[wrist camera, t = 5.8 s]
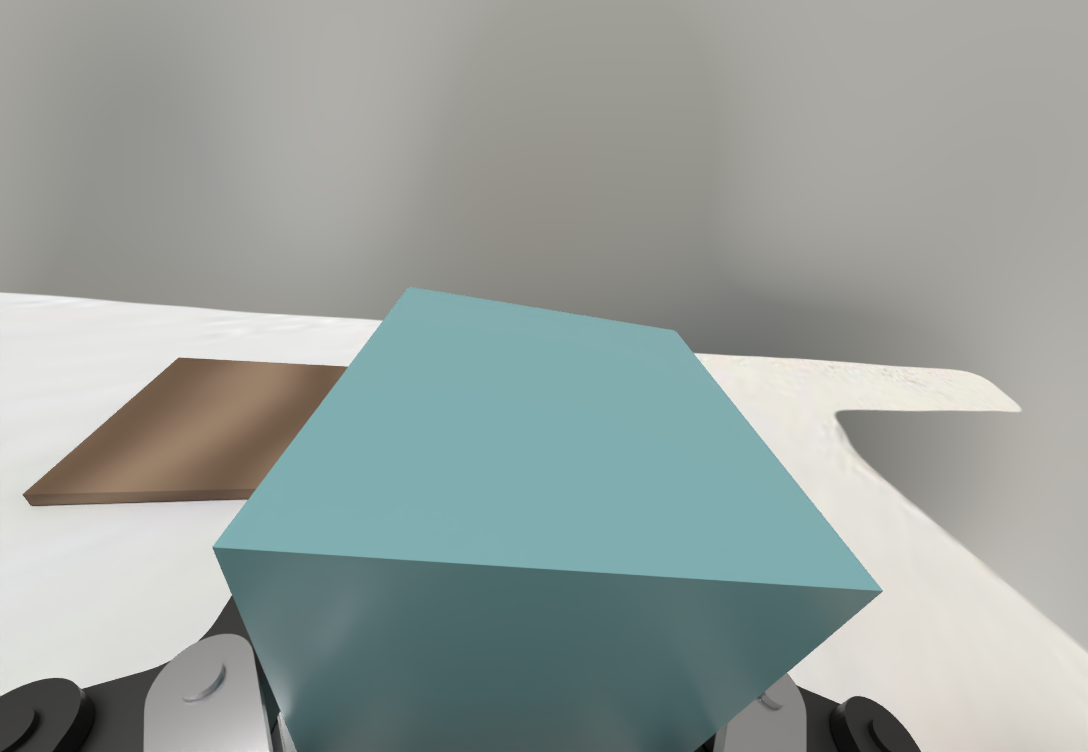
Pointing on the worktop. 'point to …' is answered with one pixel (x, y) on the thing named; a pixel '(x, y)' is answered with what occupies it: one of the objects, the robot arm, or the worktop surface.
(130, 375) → the worktop surface
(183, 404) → the mat
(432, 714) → the tall teal block
